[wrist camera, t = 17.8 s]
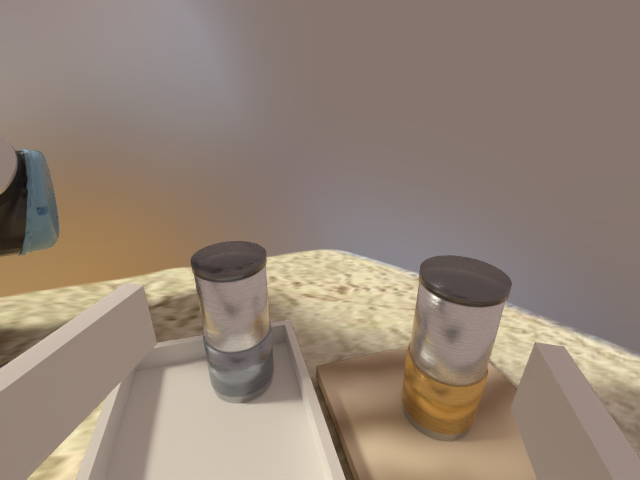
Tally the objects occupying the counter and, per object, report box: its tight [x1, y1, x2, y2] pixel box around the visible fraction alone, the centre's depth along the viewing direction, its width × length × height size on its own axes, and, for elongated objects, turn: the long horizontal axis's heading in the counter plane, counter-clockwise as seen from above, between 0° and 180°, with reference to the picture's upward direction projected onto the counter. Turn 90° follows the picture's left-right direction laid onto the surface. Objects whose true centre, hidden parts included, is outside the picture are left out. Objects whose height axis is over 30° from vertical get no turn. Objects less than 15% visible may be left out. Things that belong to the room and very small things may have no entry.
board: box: [316, 346, 537, 480], centre depth 29 cm, size 16×18×2 cm
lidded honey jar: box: [401, 256, 512, 441], centre depth 26 cm, size 6×6×14 cm
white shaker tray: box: [76, 319, 346, 480], centre depth 27 cm, size 20×18×4 cm
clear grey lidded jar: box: [191, 241, 274, 404], centre depth 30 cm, size 6×6×14 cm
